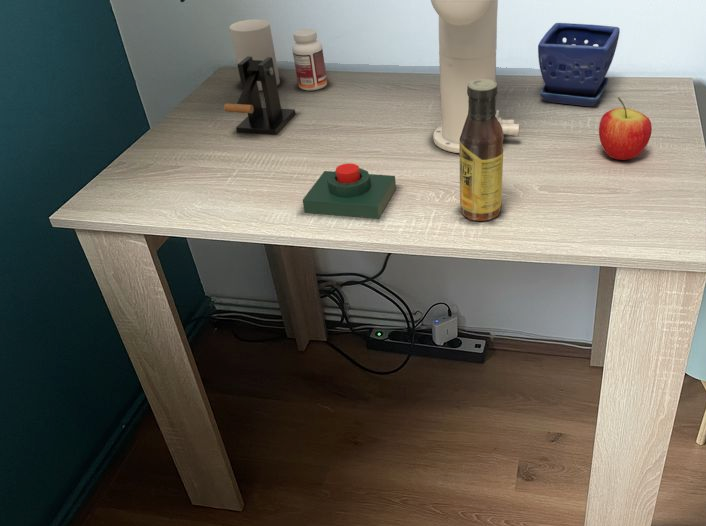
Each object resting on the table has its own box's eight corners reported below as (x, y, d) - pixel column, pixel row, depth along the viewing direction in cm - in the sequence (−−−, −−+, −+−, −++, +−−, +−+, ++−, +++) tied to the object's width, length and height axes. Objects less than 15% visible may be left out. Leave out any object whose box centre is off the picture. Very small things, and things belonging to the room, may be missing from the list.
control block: (396, 188, 117) (394, 165, 115) (378, 218, 110) (376, 195, 107) (326, 182, 120) (322, 160, 117) (304, 212, 112) (300, 189, 110)
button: (363, 174, 114) (362, 164, 112) (356, 185, 111) (354, 174, 110) (341, 172, 114) (340, 162, 113) (333, 183, 112) (332, 172, 110)
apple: (600, 143, 127) (606, 86, 121) (650, 148, 125) (659, 91, 118) (592, 163, 121) (598, 105, 115) (643, 169, 119) (653, 110, 113)
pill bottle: (322, 79, 158) (314, 25, 151) (331, 87, 153) (324, 33, 146) (294, 84, 156) (285, 30, 149) (303, 93, 151) (294, 38, 144)
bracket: (276, 135, 136) (264, 71, 128) (236, 132, 137) (222, 69, 130) (295, 114, 143) (285, 52, 135) (258, 112, 145) (246, 51, 137)
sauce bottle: (458, 204, 112) (455, 75, 100) (498, 201, 113) (500, 72, 100) (462, 226, 107) (460, 92, 95) (504, 223, 108) (508, 89, 95)
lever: (252, 117, 129) (248, 106, 127) (227, 115, 130) (222, 105, 128) (273, 71, 135) (269, 60, 133) (248, 70, 136) (244, 59, 134)
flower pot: (601, 112, 138) (608, 47, 130) (533, 105, 142) (536, 42, 134) (614, 87, 147) (621, 25, 139) (550, 81, 151) (553, 21, 143)
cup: (284, 77, 160) (274, 19, 152) (274, 90, 153) (263, 31, 146) (248, 77, 160) (236, 19, 153) (236, 90, 154) (224, 31, 147)
